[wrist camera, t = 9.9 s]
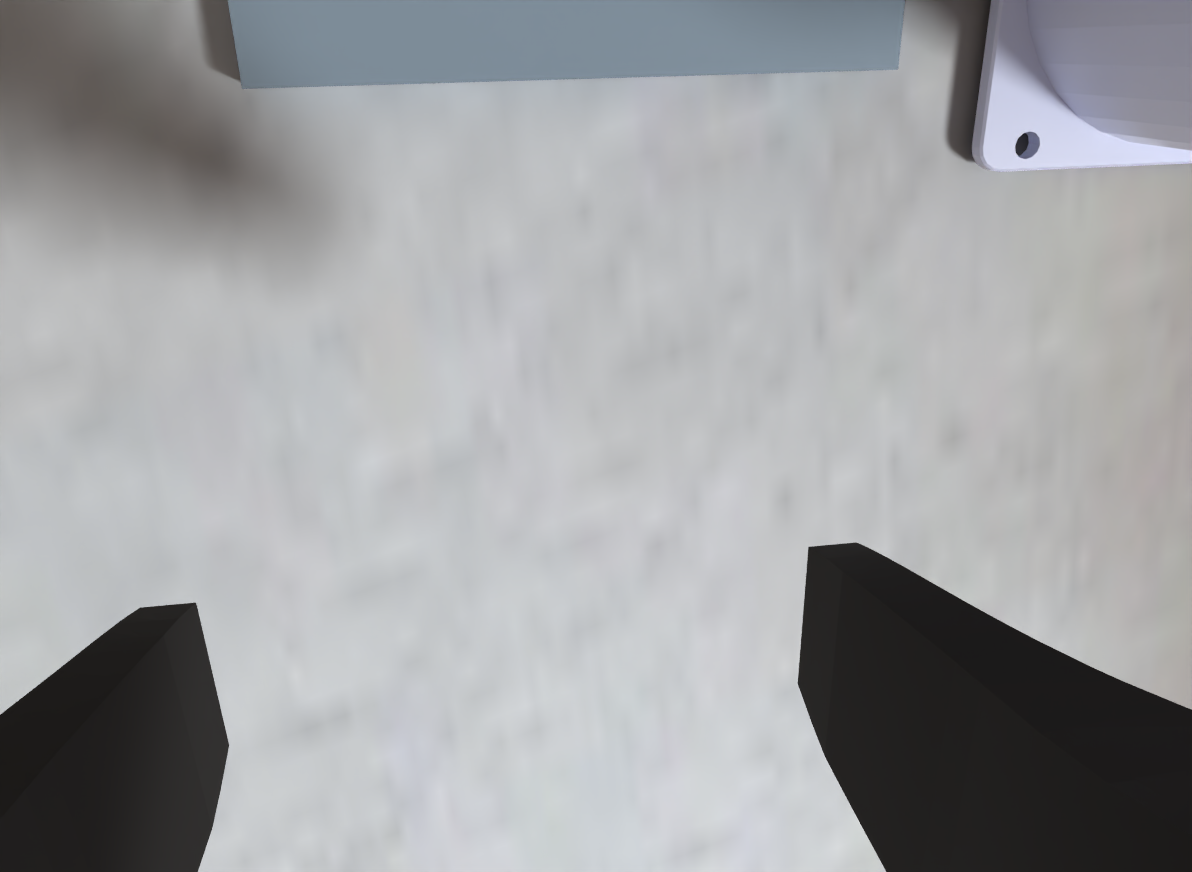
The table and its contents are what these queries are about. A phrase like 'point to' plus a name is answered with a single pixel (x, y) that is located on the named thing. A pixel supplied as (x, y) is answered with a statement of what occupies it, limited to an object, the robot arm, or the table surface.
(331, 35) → the dock
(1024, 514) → the table surface
